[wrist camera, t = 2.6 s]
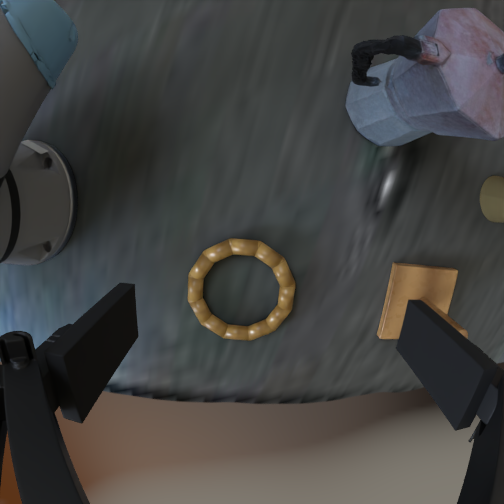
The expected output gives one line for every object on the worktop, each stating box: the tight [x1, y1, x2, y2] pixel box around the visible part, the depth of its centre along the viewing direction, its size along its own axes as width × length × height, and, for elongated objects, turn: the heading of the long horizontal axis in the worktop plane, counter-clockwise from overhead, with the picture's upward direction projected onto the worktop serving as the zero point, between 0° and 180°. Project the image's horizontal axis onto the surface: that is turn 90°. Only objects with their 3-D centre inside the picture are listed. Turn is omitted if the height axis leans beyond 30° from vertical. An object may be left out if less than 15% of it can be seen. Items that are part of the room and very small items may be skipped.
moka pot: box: [345, 8, 504, 146], centre depth 20 cm, size 10×15×20 cm, turn 97°
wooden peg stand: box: [377, 263, 468, 339], centre depth 30 cm, size 9×9×10 cm
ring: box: [188, 238, 296, 341], centre depth 34 cm, size 11×11×2 cm
